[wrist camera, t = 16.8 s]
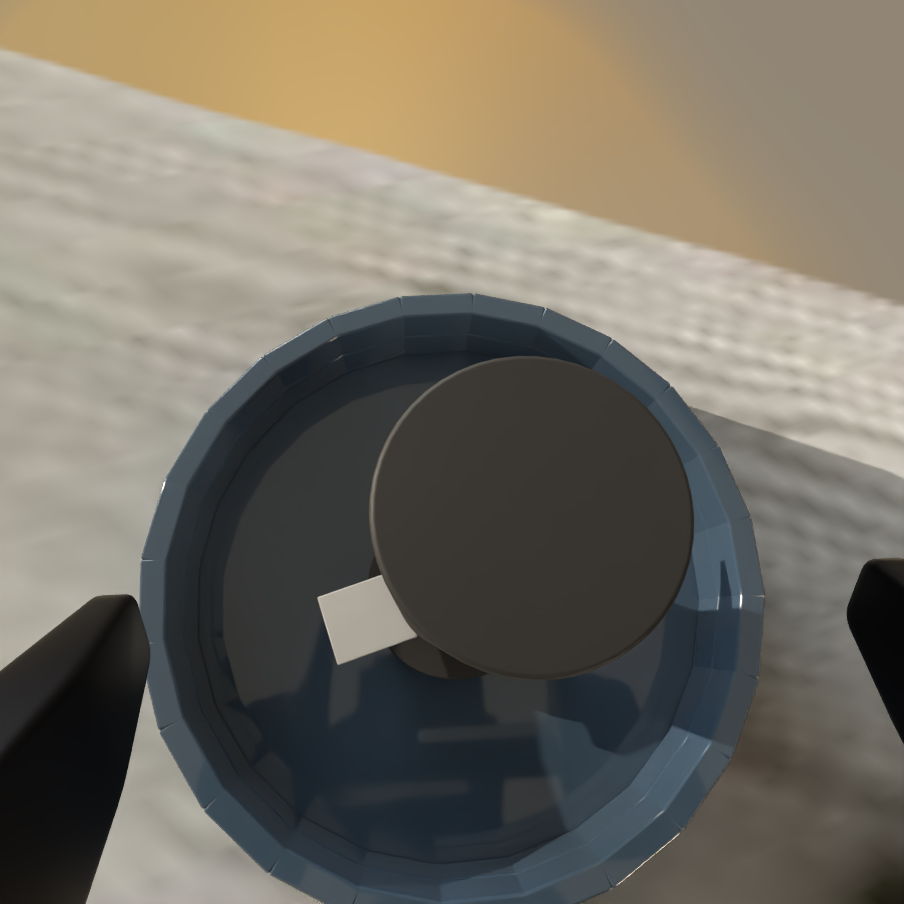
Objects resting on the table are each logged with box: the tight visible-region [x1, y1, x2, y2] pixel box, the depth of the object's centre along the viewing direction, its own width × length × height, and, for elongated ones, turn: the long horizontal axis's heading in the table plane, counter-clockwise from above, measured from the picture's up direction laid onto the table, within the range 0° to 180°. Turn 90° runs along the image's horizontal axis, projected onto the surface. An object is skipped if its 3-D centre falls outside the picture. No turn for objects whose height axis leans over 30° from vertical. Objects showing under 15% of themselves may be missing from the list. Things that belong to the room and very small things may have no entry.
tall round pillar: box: [318, 356, 694, 680], centre depth 12 cm, size 6×4×12 cm
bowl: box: [139, 293, 765, 904], centre depth 18 cm, size 14×14×3 cm
